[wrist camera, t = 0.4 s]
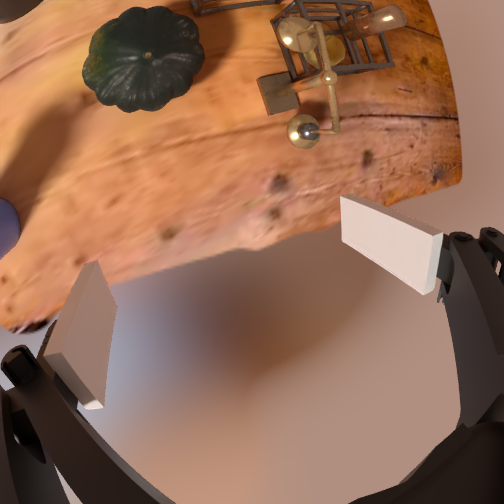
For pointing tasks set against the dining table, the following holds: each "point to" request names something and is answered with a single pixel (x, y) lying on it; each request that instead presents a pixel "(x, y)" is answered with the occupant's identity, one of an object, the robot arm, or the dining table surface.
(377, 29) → the wire frame cage
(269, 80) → the balance
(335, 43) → the bread roll
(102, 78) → the squash
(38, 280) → the dining table surface
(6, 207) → the water bottle
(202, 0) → the metal bar cube frame
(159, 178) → the dining table surface
